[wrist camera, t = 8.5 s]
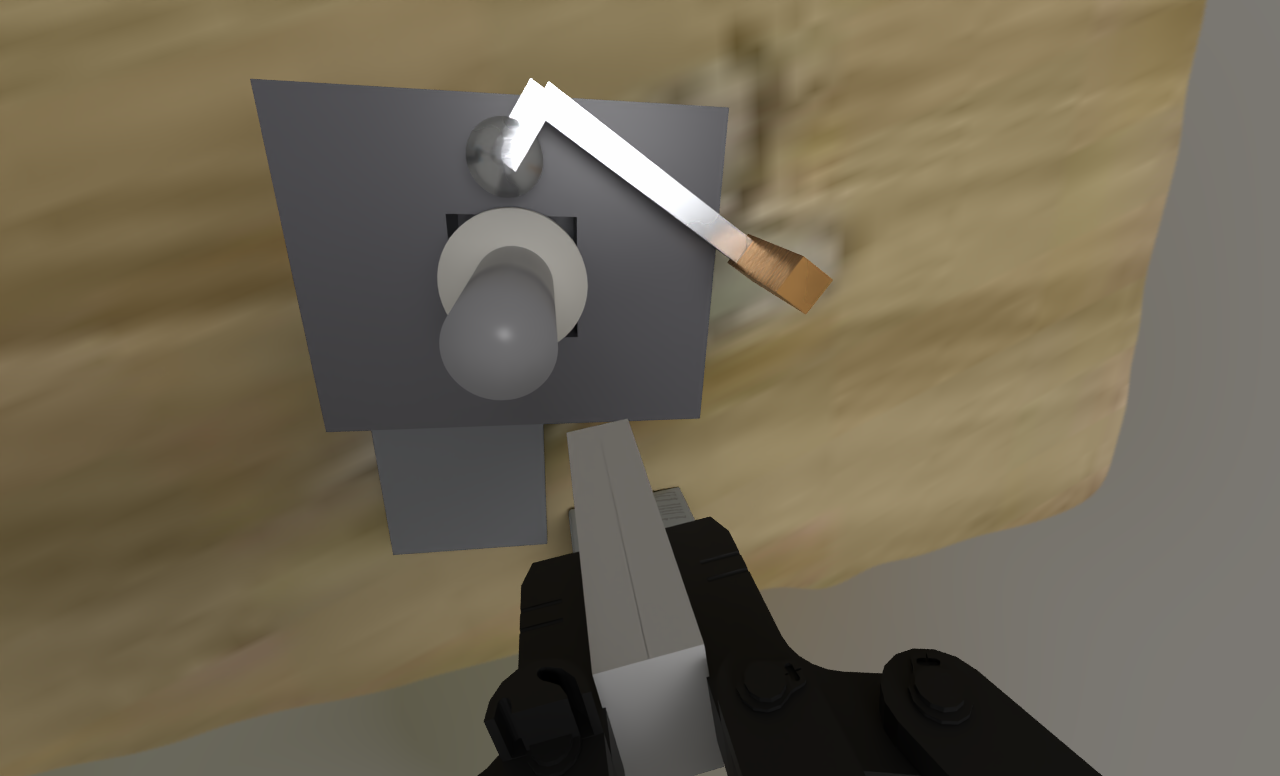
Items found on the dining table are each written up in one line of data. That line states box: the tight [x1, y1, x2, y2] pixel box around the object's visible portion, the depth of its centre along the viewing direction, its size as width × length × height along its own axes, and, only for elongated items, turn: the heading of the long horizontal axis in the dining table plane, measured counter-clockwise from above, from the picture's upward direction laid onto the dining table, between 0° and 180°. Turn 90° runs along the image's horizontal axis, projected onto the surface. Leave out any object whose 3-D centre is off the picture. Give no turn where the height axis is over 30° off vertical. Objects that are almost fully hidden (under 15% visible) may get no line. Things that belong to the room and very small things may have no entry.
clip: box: [466, 79, 833, 314], centre depth 21 cm, size 5×14×6 cm, turn 55°
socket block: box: [250, 79, 729, 432], centre depth 27 cm, size 20×16×6 cm
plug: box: [437, 207, 588, 400], centre depth 23 cm, size 7×7×14 cm
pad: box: [371, 424, 547, 555], centre depth 35 cm, size 10×10×1 cm
